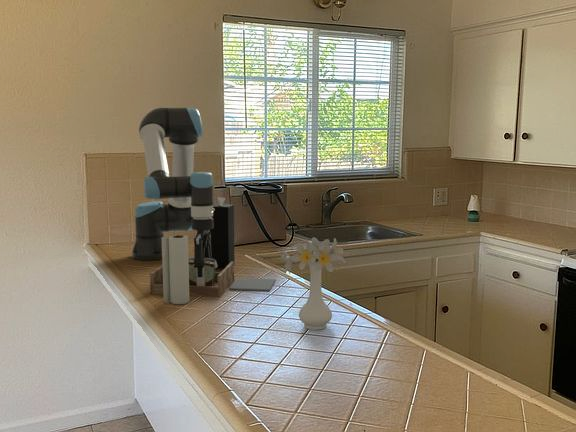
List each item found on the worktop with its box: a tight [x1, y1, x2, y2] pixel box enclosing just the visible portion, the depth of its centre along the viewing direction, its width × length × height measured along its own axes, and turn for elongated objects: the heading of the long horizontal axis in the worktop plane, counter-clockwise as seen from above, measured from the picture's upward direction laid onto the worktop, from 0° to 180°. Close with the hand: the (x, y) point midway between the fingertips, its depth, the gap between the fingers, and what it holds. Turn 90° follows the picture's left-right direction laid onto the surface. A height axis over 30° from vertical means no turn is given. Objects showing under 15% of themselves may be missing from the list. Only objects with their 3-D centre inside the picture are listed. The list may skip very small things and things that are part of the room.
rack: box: [149, 262, 235, 297], centre depth 212 cm, size 21×24×7 cm
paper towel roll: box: [161, 234, 190, 305], centre depth 193 cm, size 7×6×21 cm
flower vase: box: [279, 236, 347, 331], centre depth 168 cm, size 13×18×25 cm
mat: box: [228, 277, 277, 292], centre depth 214 cm, size 14×14×1 cm
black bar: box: [208, 196, 236, 270], centre depth 239 cm, size 8×8×28 cm
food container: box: [188, 257, 217, 286], centre depth 211 cm, size 12×6×10 cm, turn 71°
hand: (203, 283), depth 211 cm, fingers closed on food container, 7 cm apart
